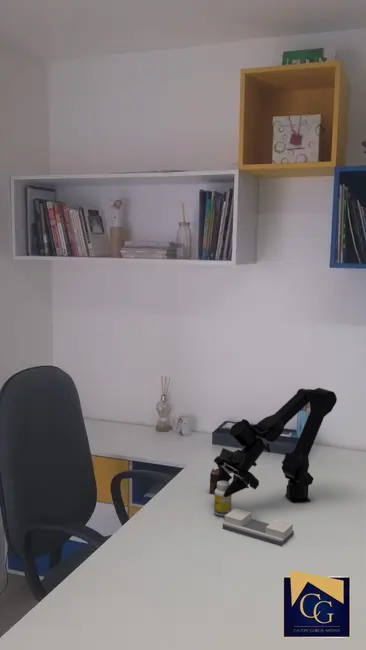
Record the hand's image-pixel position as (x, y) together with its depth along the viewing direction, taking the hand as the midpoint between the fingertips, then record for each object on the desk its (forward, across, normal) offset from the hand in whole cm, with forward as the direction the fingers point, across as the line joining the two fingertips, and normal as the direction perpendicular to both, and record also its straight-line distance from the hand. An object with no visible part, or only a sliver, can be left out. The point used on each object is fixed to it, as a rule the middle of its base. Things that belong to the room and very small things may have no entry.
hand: (219, 493), depth 191 cm
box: (-2, -16, +13) cm, 21 cm away
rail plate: (+2, +15, +8) cm, 17 cm away
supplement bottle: (+4, 0, +6) cm, 7 cm away
